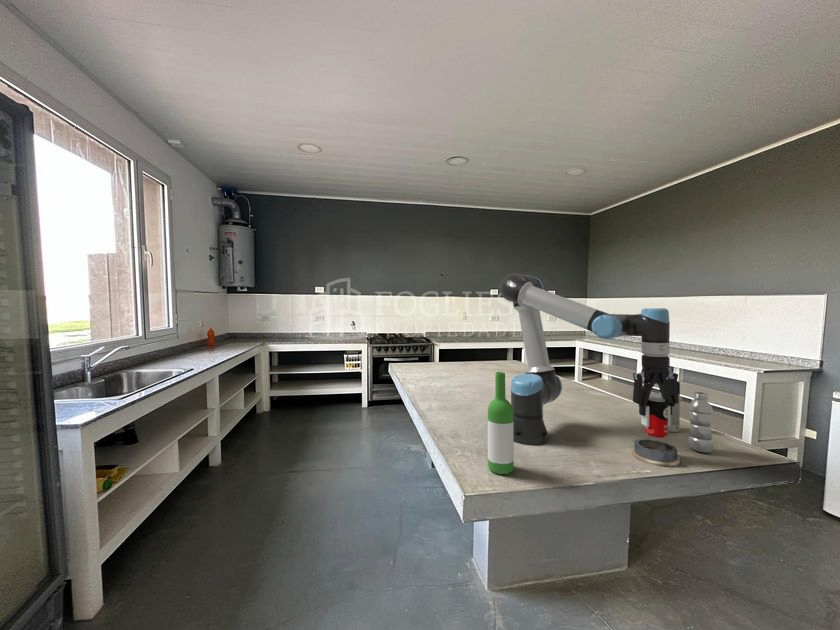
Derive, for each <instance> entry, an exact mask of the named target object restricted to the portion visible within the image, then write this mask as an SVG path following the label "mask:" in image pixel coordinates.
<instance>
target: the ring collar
mask: <svg viewBox="0 0 840 630" xmlns="http://www.w3.org/2000/svg"><path fill="white" fill-rule="evenodd" d="M633 448H634V451H635V453H636V454H638V455H639V456H641V457H643V458H646V459H649V460H652V461H658V462H663V463H667V462H675V461H677V460H678V457H679V456H678V451H679V450H678V449H677V447H676V446H675V445H673V444H671V443H668V442H665V441H663V440H659V439H653V438H652V439H651V438H637V439H635V440H633ZM651 449H654V450H651ZM656 450H659V451H656Z"/></svg>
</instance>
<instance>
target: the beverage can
mask: <svg viewBox="0 0 840 630" xmlns="http://www.w3.org/2000/svg"><path fill="white" fill-rule="evenodd" d="M646 406H649V427H647V426H645V425H643V426H644V428H643V429H644V432H645V433H646V434H647V435H648V436H649V437H652V438H656V439H663V438H666V437H667V436H669V432H668V405H667V404H666V402H665V399H662V398H659V397H656V396H649V399H648V402H647V405H646Z"/></svg>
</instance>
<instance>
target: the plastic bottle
mask: <svg viewBox="0 0 840 630" xmlns="http://www.w3.org/2000/svg"><path fill="white" fill-rule="evenodd" d="M692 398H693V400H692V401H690V403H689V404H688V407H687V409H688V415H689V422H690V425H689V426H690V427H689V435H688V440H687V442H688V446H689V448H690V449H691V450H692V451H696V452H700V453H704V454H706V453H707V454H709V453H712V452H713V450H714V441H713V437H712V419H713V416H714V408H713V407H712V406H711V404H710V403H709V402H708V400H709V395H708V393H705V392H702V391H694V392H693V396H692Z"/></svg>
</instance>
